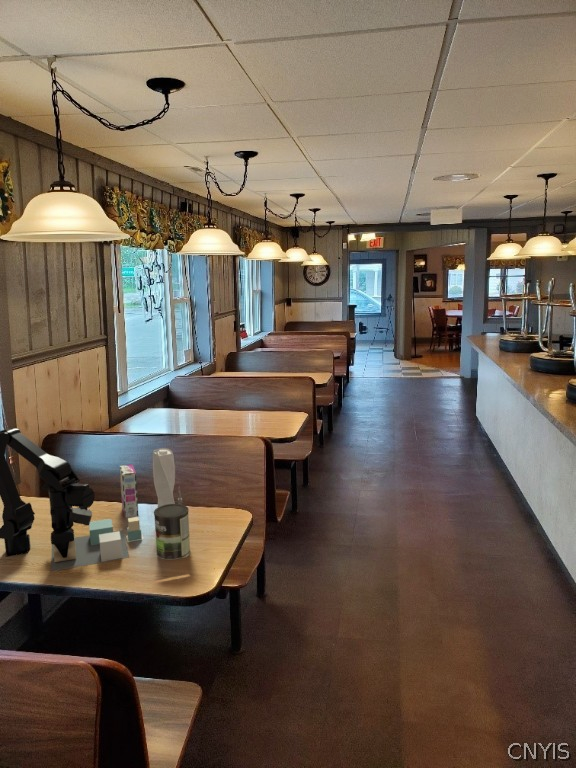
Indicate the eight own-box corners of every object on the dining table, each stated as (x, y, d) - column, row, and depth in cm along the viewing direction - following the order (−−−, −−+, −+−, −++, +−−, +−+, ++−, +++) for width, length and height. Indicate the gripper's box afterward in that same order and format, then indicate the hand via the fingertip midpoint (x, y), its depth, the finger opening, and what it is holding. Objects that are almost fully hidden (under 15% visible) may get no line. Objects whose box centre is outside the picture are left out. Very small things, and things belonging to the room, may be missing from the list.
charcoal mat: (51, 573, 169) (50, 571, 169) (52, 543, 188) (52, 541, 188) (129, 559, 176) (129, 557, 176) (123, 531, 196) (123, 529, 195)
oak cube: (54, 562, 173) (52, 543, 172) (55, 553, 179) (53, 535, 177) (76, 558, 175) (74, 539, 174) (75, 549, 181) (74, 531, 179)
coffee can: (167, 565, 172) (164, 520, 170) (150, 553, 180) (147, 509, 177) (197, 554, 179) (194, 510, 176) (180, 542, 186) (177, 500, 184)
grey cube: (101, 561, 174) (99, 542, 173) (100, 552, 179) (98, 534, 178) (122, 557, 176) (121, 539, 175) (120, 549, 181) (119, 531, 180)
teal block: (90, 545, 185) (89, 530, 184) (90, 536, 191) (88, 522, 190) (114, 541, 187) (112, 526, 186) (112, 532, 193) (111, 518, 192)
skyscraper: (174, 530, 195) (169, 450, 190) (151, 528, 197) (146, 448, 192) (184, 520, 203) (180, 442, 198) (163, 518, 205) (158, 441, 200)
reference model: (127, 543, 187) (126, 523, 185) (126, 537, 191) (124, 517, 190) (143, 540, 188) (142, 521, 187) (141, 534, 193) (140, 515, 192)
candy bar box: (139, 517, 207) (136, 472, 204) (125, 519, 205) (121, 474, 202) (135, 506, 217) (132, 463, 214) (122, 508, 216) (118, 465, 213)
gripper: (90, 511, 168) (94, 561, 171) (87, 489, 185) (91, 535, 188) (48, 517, 164) (53, 568, 167) (49, 494, 181) (54, 541, 184)
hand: (65, 552), depth 177 cm, fingers closed on oak cube, 6 cm apart
